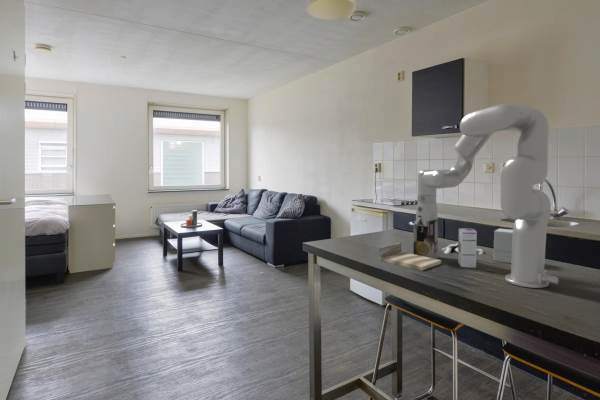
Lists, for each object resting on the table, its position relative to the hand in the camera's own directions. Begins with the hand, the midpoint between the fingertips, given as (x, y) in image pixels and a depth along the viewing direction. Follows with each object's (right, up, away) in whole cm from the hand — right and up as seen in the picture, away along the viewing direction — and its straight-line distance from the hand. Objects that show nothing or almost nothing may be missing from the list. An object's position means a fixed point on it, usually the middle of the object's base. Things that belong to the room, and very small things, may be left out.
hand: (425, 239), depth 159 cm
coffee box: (0, -8, +1) cm, 8 cm away
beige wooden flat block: (-9, -8, -7) cm, 14 cm away
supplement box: (+31, -8, -6) cm, 32 cm away
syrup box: (+12, -9, -13) cm, 20 cm away
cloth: (+19, -7, +10) cm, 22 cm away
